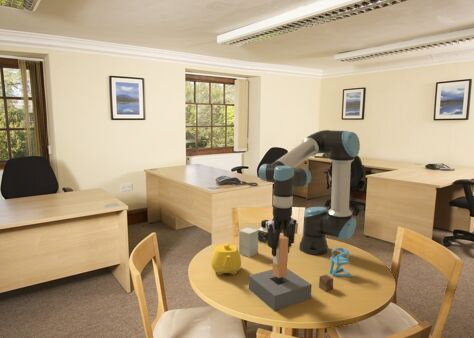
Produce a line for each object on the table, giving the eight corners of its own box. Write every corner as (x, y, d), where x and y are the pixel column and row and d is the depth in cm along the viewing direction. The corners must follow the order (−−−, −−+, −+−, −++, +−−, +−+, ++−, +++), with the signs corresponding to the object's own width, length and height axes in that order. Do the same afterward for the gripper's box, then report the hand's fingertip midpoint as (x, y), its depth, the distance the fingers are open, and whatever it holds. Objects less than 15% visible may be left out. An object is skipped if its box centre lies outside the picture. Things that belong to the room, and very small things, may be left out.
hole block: (283, 279, 153) (283, 266, 152) (310, 298, 137) (311, 284, 136) (248, 288, 144) (249, 275, 143) (274, 310, 128) (274, 295, 127)
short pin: (325, 285, 148) (326, 274, 147) (332, 289, 144) (333, 278, 144) (318, 287, 146) (319, 276, 145) (325, 291, 142) (326, 280, 142)
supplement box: (258, 253, 180) (259, 230, 178) (249, 257, 174) (249, 233, 172) (247, 249, 185) (248, 226, 182) (238, 253, 179) (238, 230, 177)
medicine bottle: (257, 241, 196) (257, 221, 194) (264, 237, 202) (265, 218, 200) (267, 244, 192) (268, 223, 190) (274, 240, 197) (275, 220, 195)
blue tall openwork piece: (326, 270, 161) (328, 246, 159) (342, 269, 163) (344, 245, 161) (334, 278, 154) (336, 253, 152) (351, 276, 156) (353, 251, 154)
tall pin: (280, 271, 142) (282, 234, 139) (286, 275, 138) (288, 238, 136) (272, 273, 140) (274, 236, 137) (278, 278, 136) (280, 239, 134)
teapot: (238, 262, 169) (239, 237, 167) (243, 282, 149) (244, 254, 147) (210, 262, 168) (210, 238, 166) (212, 283, 148) (212, 255, 146)
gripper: (293, 200, 142) (291, 254, 145) (258, 205, 133) (257, 262, 137) (305, 205, 135) (302, 261, 139) (270, 210, 127) (268, 270, 131)
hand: (280, 261), depth 138 cm, fingers closed on tall pin, 4 cm apart
